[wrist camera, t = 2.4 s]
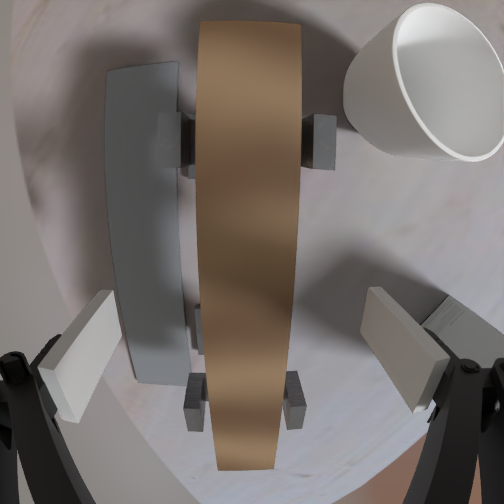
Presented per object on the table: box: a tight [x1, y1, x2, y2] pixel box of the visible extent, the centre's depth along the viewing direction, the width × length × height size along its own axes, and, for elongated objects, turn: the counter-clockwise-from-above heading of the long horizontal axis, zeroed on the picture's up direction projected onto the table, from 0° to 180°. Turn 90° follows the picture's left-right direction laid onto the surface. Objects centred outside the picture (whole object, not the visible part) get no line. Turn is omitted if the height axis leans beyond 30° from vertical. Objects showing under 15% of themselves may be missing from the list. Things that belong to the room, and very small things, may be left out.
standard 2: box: [183, 306, 307, 432], centre depth 22 cm, size 5×8×11 cm, turn 89°
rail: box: [195, 20, 302, 471], centre depth 15 cm, size 26×4×4 cm, turn 179°
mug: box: [343, 3, 504, 162], centre depth 16 cm, size 12×9×12 cm
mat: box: [104, 61, 192, 386], centre depth 24 cm, size 30×6×1 cm, turn 179°
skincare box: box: [421, 295, 504, 408], centre depth 22 cm, size 8×6×15 cm
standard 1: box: [157, 111, 337, 179], centre depth 17 cm, size 5×8×11 cm, turn 89°
